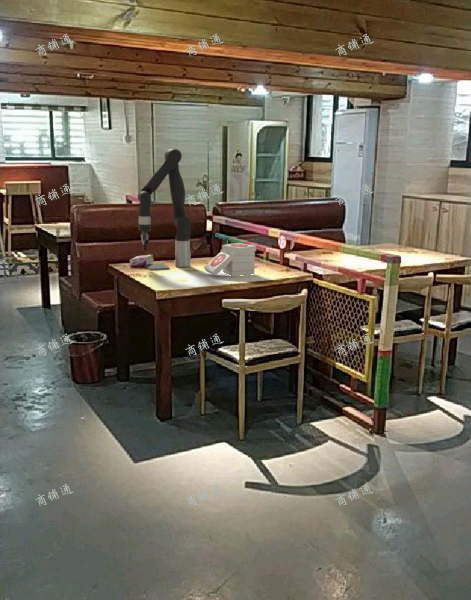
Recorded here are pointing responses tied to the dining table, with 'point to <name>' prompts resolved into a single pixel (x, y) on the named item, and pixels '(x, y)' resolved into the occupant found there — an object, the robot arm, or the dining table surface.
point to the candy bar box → (141, 260)
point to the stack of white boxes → (233, 260)
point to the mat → (157, 267)
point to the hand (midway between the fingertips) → (145, 250)
